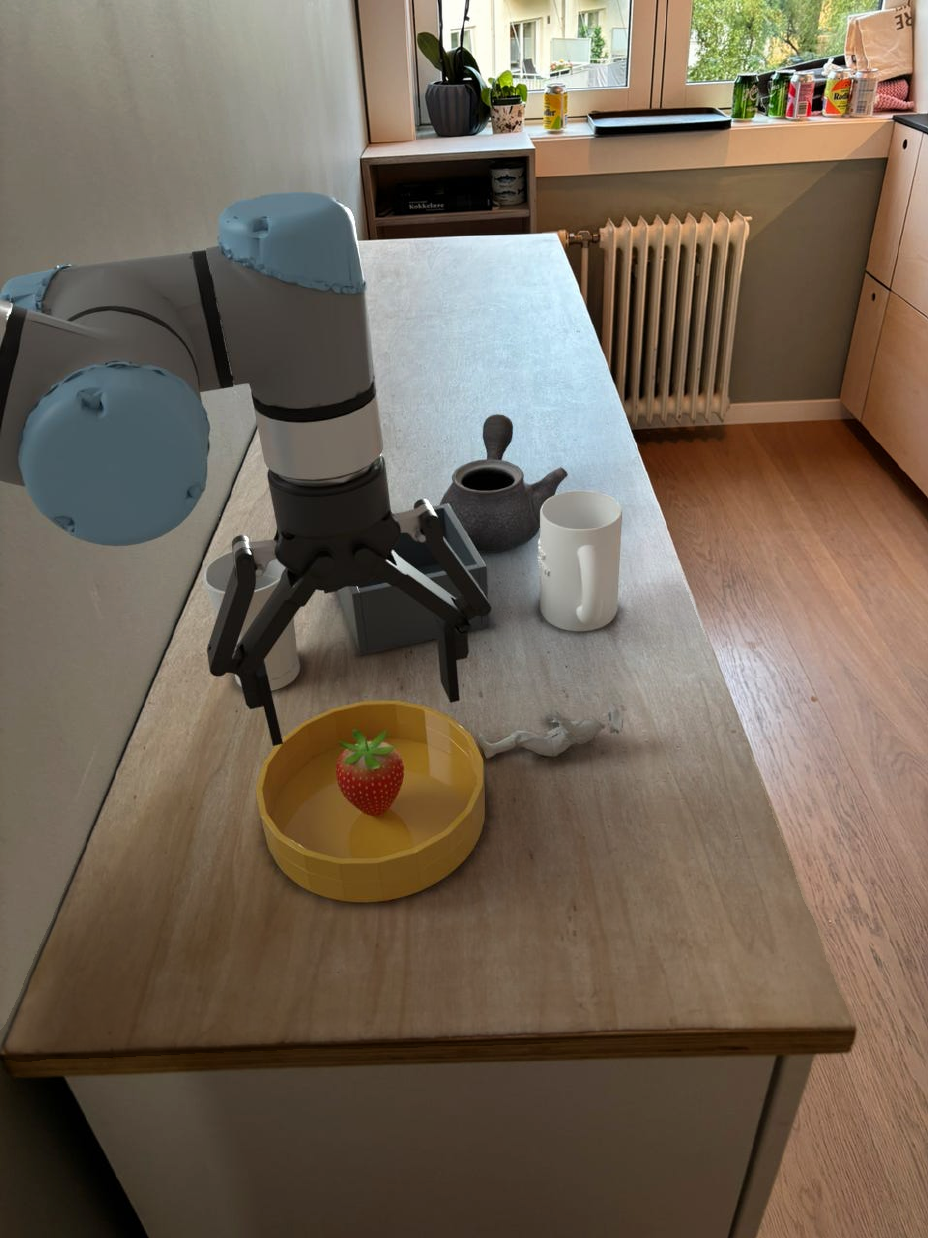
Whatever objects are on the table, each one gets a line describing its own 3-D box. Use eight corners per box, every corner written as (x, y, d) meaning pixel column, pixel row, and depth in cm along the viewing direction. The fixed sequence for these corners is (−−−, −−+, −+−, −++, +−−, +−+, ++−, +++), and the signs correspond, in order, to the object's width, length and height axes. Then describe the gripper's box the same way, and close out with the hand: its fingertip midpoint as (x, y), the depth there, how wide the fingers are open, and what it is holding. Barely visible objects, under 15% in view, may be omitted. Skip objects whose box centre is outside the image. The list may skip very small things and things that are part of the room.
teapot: (574, 554, 112) (576, 475, 106) (439, 563, 111) (433, 485, 105) (553, 477, 127) (553, 404, 121) (434, 485, 127) (429, 412, 121)
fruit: (351, 840, 78) (338, 768, 73) (336, 796, 82) (324, 725, 77) (415, 822, 79) (407, 750, 75) (398, 779, 83) (389, 708, 79)
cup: (322, 675, 96) (304, 573, 89) (247, 708, 93) (222, 604, 85) (286, 637, 101) (267, 537, 94) (214, 666, 98) (188, 565, 91)
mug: (549, 659, 96) (550, 556, 89) (533, 591, 106) (532, 493, 99) (632, 652, 97) (639, 548, 90) (608, 585, 106) (613, 486, 99)
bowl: (284, 930, 72) (274, 890, 69) (253, 766, 86) (244, 728, 84) (515, 866, 76) (514, 826, 73) (450, 719, 90) (447, 681, 87)
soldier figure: (481, 736, 89) (601, 681, 89) (503, 786, 89) (624, 730, 88) (474, 736, 82) (605, 675, 81) (498, 790, 81) (631, 729, 81)
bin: (360, 655, 98) (351, 594, 94) (334, 584, 109) (325, 526, 104) (489, 627, 101) (486, 566, 97) (452, 560, 112) (448, 503, 107)
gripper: (493, 403, 68) (503, 646, 80) (121, 470, 62) (194, 719, 75) (531, 448, 62) (535, 703, 74) (124, 526, 57) (202, 786, 69)
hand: (364, 712), depth 75 cm, fingers open, 13 cm apart
